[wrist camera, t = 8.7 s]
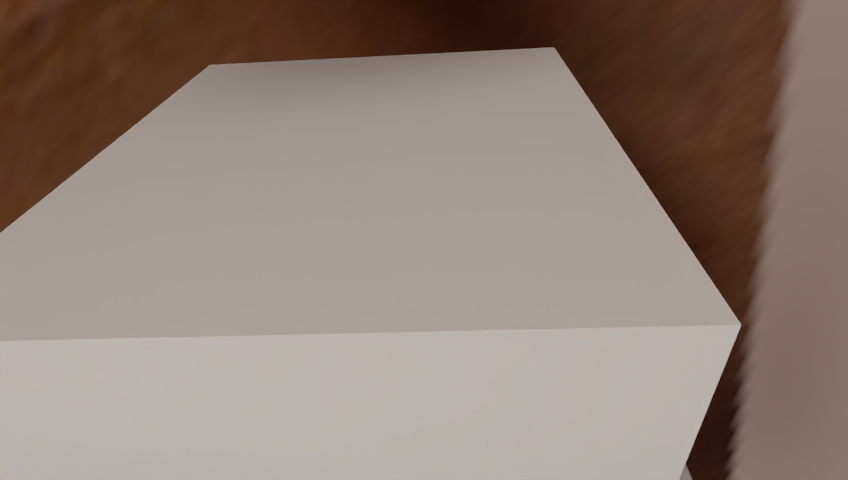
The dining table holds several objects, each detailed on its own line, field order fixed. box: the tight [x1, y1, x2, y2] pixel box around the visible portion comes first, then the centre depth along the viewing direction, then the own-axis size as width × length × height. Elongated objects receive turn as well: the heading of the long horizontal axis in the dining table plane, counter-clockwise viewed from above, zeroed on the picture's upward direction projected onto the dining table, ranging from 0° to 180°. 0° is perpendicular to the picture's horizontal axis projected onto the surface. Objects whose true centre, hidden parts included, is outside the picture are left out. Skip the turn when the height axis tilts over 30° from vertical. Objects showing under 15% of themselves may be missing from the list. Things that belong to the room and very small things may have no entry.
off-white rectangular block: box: [0, 47, 741, 480], centre depth 10 cm, size 11×7×8 cm, turn 3°
